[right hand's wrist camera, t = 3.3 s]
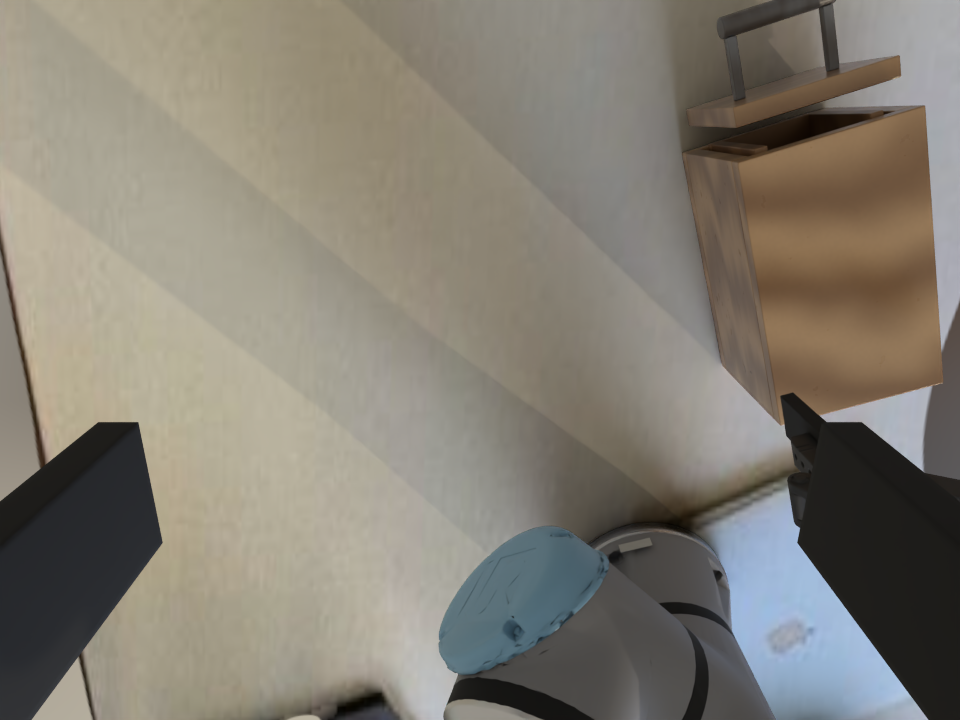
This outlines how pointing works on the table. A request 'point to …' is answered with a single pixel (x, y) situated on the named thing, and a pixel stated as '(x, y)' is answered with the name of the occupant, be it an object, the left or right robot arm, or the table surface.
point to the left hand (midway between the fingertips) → (908, 382)
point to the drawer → (787, 85)
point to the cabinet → (823, 263)
